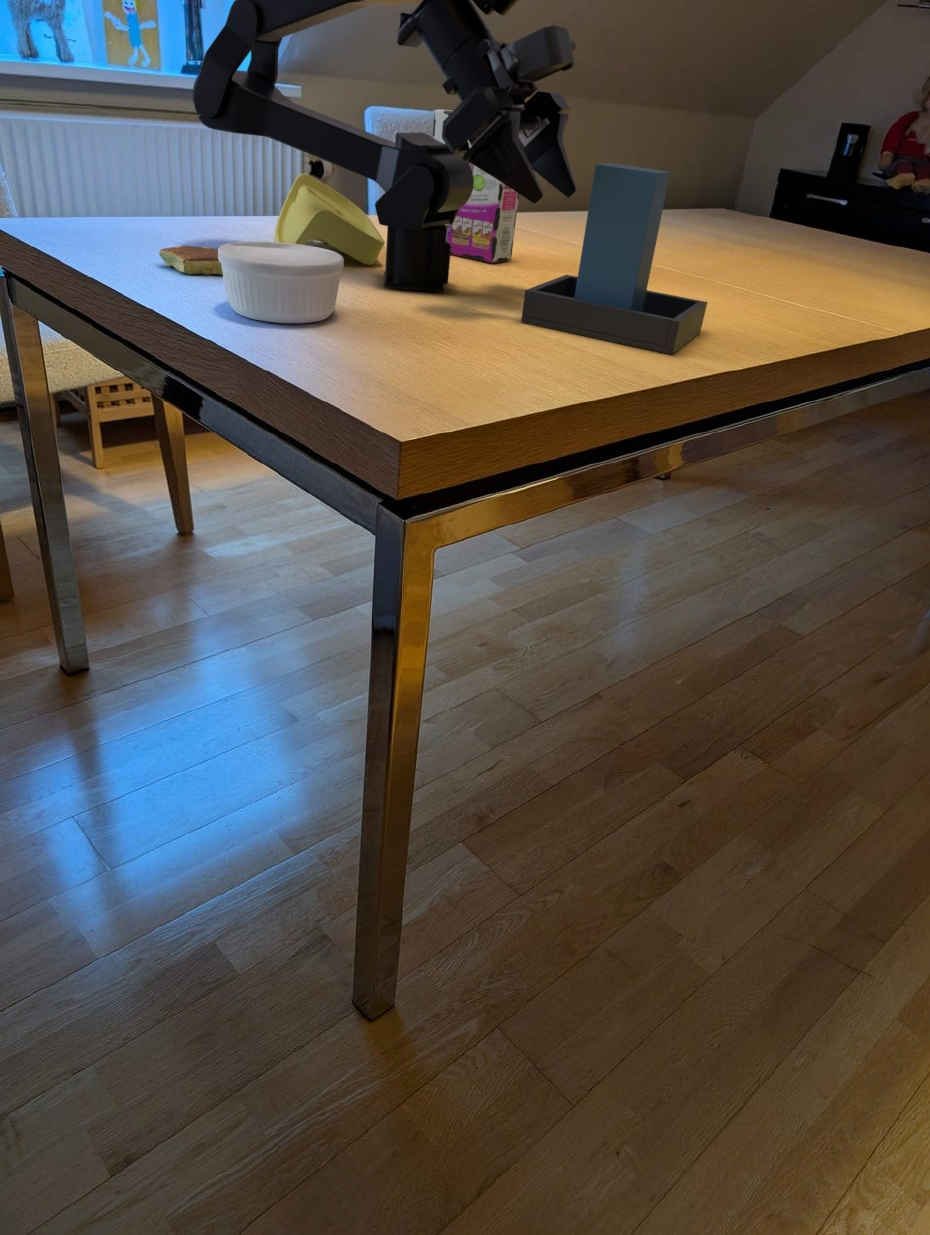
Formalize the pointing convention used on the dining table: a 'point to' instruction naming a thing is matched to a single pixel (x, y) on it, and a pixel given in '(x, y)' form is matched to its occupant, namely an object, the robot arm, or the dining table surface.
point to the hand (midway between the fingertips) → (556, 197)
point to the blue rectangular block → (621, 235)
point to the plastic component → (327, 221)
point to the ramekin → (280, 280)
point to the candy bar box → (482, 214)
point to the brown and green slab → (192, 259)
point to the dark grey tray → (615, 316)
